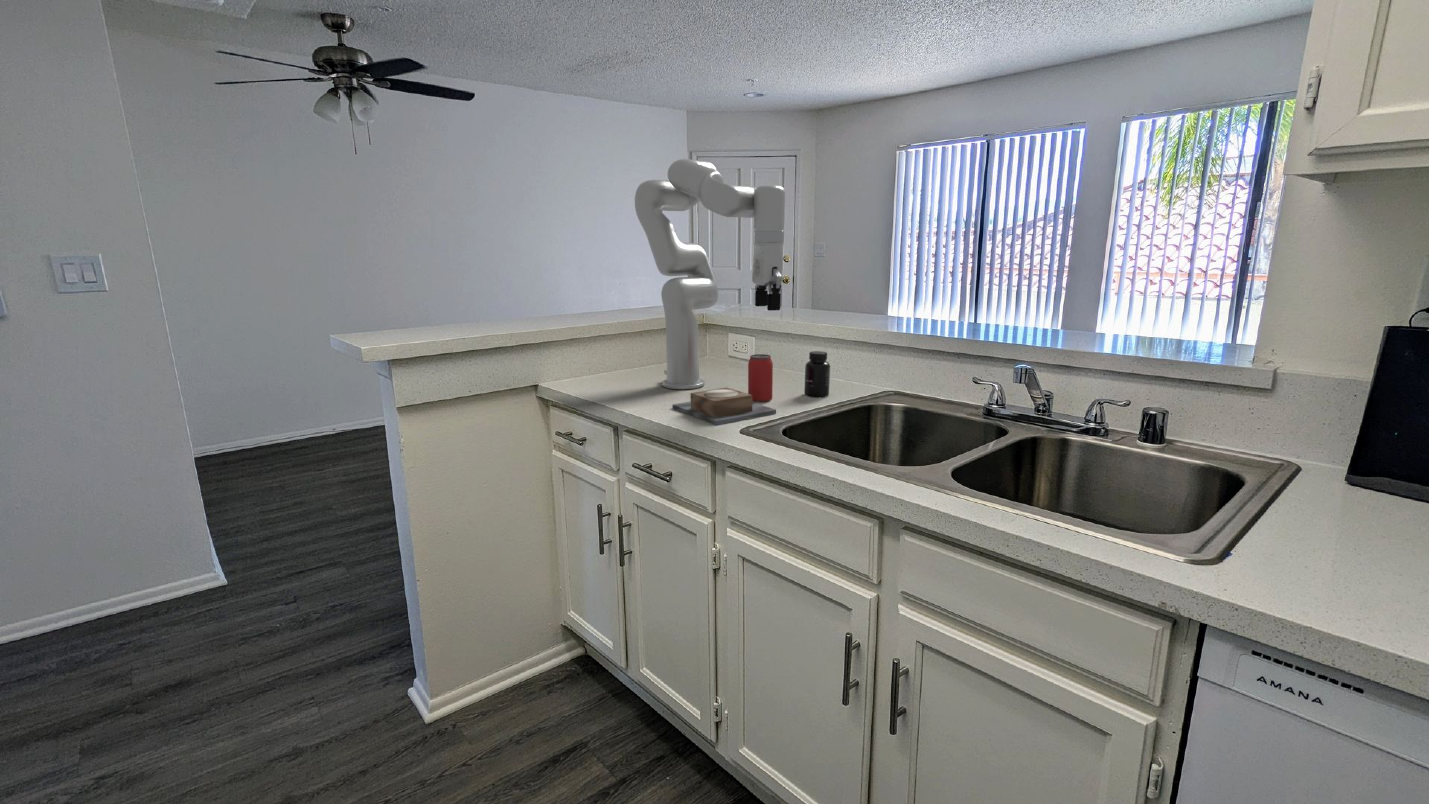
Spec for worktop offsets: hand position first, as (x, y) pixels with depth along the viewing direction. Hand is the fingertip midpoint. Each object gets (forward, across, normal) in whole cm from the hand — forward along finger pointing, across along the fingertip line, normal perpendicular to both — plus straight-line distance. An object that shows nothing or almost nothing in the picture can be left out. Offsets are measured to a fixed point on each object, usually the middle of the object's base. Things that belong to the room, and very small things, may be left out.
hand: (767, 308), depth 169 cm
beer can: (+26, -6, 0) cm, 26 cm away
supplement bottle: (+25, -6, +17) cm, 31 cm away
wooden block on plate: (+25, +3, -12) cm, 28 cm away
